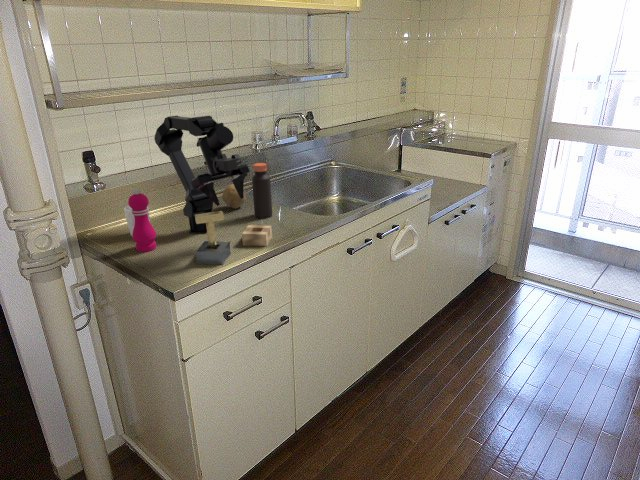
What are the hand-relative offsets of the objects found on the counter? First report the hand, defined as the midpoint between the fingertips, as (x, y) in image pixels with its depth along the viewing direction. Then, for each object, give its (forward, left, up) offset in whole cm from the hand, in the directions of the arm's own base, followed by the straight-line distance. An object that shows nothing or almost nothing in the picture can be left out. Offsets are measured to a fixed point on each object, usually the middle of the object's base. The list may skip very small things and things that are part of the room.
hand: (230, 201), depth 148 cm
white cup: (-37, +8, -15) cm, 40 cm away
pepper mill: (-29, -4, -15) cm, 33 cm away
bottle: (+2, +30, -15) cm, 33 cm away
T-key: (-4, -10, -15) cm, 19 cm away
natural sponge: (-12, +38, -15) cm, 42 cm away
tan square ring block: (+6, +5, -15) cm, 17 cm away
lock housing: (-4, -10, -15) cm, 19 cm away
